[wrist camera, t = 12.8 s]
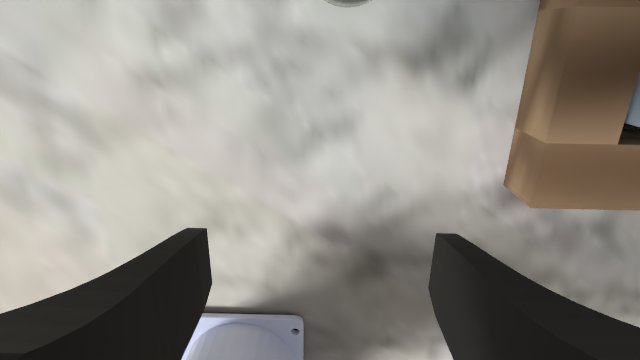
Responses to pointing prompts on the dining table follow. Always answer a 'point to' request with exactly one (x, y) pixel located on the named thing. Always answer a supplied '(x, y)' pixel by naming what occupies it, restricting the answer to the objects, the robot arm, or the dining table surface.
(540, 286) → the robot arm
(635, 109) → the long peg
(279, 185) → the dining table surface
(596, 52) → the plate
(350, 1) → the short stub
